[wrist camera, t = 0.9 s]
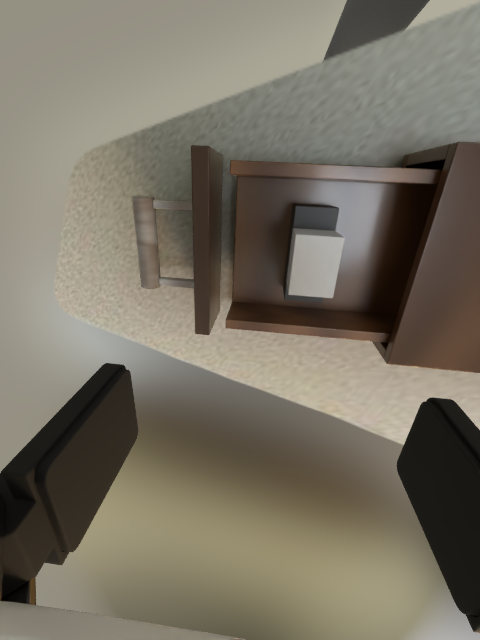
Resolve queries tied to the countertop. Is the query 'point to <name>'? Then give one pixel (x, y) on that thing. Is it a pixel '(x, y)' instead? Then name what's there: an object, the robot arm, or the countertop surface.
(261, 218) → the drawer
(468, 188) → the cabinet
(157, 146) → the countertop surface
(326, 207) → the two-tone rectangular prism
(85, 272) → the countertop surface
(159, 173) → the countertop surface
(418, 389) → the countertop surface
